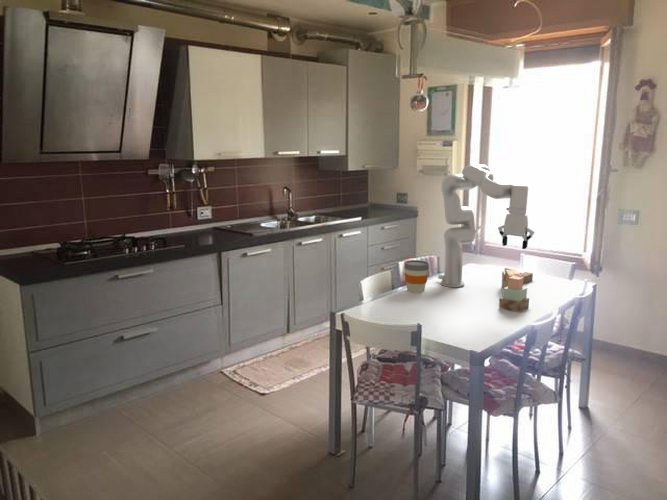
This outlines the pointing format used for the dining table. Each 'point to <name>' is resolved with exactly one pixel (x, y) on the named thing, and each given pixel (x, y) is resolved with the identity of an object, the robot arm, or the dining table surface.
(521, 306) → the walnut tower base
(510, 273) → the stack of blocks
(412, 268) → the reusable coffee cup
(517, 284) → the terracotta cube
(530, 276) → the wooden block set
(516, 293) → the sage tower block
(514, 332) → the dining table surface
